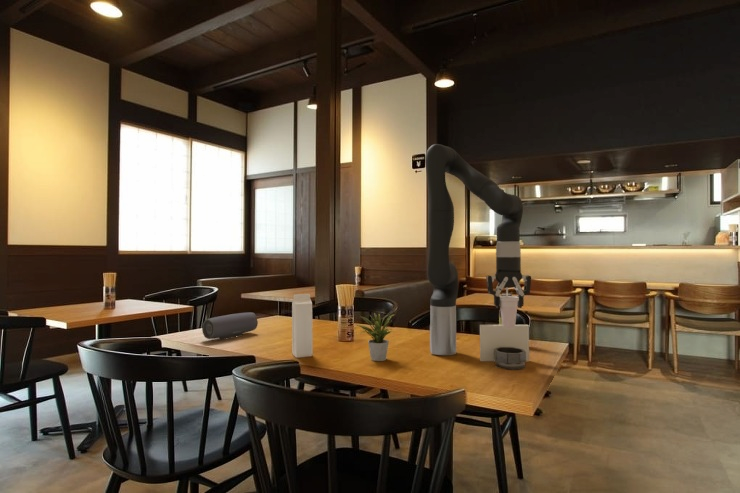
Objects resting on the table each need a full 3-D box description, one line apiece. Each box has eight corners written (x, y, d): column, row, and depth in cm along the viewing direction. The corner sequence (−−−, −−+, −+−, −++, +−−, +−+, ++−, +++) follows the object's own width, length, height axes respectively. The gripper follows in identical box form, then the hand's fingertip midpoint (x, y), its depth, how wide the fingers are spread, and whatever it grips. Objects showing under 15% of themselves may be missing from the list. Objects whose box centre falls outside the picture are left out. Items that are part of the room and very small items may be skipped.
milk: (312, 356, 150) (312, 294, 150) (295, 358, 148) (295, 295, 148) (308, 352, 156) (308, 292, 156) (291, 354, 153) (291, 293, 153)
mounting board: (480, 361, 141) (480, 325, 142) (480, 360, 143) (479, 324, 143) (529, 361, 141) (528, 325, 141) (528, 360, 142) (527, 324, 142)
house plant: (379, 351, 156) (379, 307, 156) (408, 357, 146) (408, 310, 147) (351, 358, 146) (350, 311, 146) (379, 366, 136) (379, 315, 137)
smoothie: (495, 325, 139) (495, 282, 139) (514, 324, 139) (514, 282, 139) (503, 328, 132) (502, 284, 132) (522, 328, 133) (522, 284, 133)
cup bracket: (498, 369, 131) (498, 353, 131) (490, 361, 141) (490, 346, 141) (528, 370, 131) (528, 353, 131) (518, 361, 141) (518, 346, 141)
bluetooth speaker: (245, 331, 196) (245, 310, 196) (258, 334, 191) (258, 311, 191) (201, 340, 178) (201, 317, 178) (214, 343, 172) (214, 318, 173)
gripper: (488, 256, 132) (488, 309, 132) (534, 255, 132) (535, 309, 132) (483, 255, 140) (483, 306, 140) (527, 255, 139) (527, 306, 139)
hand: (508, 307), depth 136 cm, fingers closed on smoothie, 6 cm apart
